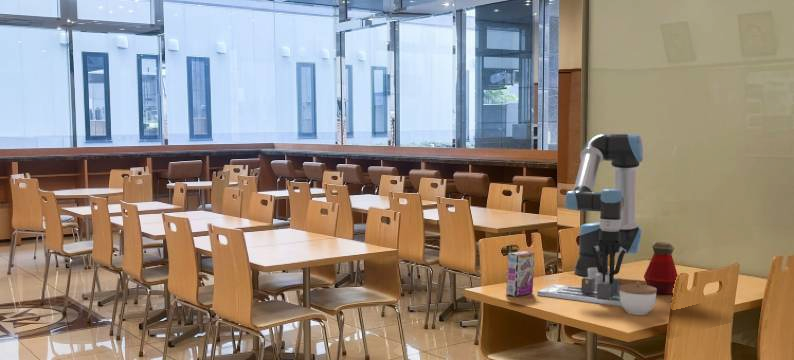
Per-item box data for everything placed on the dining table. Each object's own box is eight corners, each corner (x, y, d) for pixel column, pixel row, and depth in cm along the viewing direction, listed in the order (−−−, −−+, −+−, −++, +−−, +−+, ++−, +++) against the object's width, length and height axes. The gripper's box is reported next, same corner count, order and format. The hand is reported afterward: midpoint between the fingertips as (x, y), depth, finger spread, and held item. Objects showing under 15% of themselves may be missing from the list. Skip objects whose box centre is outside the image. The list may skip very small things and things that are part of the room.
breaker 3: (609, 290, 305) (609, 276, 304) (619, 291, 303) (620, 278, 302) (606, 292, 302) (607, 278, 301) (616, 293, 300) (617, 279, 299)
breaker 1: (584, 290, 304) (584, 276, 304) (594, 291, 302) (595, 277, 301) (581, 291, 301) (581, 278, 300) (591, 293, 299) (592, 279, 298)
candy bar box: (516, 297, 298) (517, 254, 297) (505, 295, 301) (507, 253, 300) (533, 293, 305) (535, 252, 305) (523, 291, 309) (524, 250, 308)
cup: (608, 292, 312) (608, 272, 311) (587, 291, 313) (588, 271, 313) (606, 287, 322) (607, 268, 322) (586, 286, 324) (587, 267, 323)
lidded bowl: (634, 318, 267) (636, 286, 267) (610, 310, 279) (612, 279, 278) (663, 315, 272) (664, 284, 272) (638, 307, 284) (640, 277, 283)
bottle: (646, 287, 323) (648, 239, 322) (680, 291, 317) (682, 242, 316) (640, 294, 309) (641, 243, 308) (676, 297, 303) (678, 246, 302)
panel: (553, 288, 318) (554, 283, 318) (638, 298, 300) (638, 294, 300) (537, 295, 303) (537, 290, 303) (625, 306, 285) (625, 302, 285)
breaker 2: (599, 295, 295) (600, 281, 294) (610, 296, 292) (611, 282, 292) (596, 297, 292) (597, 282, 291) (607, 298, 289) (608, 284, 289)
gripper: (589, 229, 296) (587, 291, 297) (624, 232, 289) (622, 295, 291) (595, 227, 302) (593, 288, 304) (629, 230, 296) (627, 292, 297)
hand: (607, 291), depth 297 cm, fingers closed
